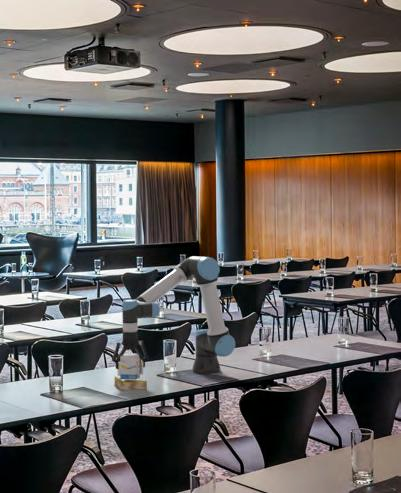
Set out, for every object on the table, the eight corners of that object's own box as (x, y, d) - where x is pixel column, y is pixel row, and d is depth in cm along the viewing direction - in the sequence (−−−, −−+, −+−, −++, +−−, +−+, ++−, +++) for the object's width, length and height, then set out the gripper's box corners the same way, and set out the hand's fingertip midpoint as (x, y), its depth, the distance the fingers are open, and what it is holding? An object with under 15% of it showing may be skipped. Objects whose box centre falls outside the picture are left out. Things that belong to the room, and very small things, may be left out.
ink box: (136, 379, 444) (136, 356, 443) (119, 379, 445) (119, 355, 445) (141, 376, 452) (140, 353, 451) (124, 375, 454) (124, 352, 453)
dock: (139, 383, 458) (139, 374, 457) (146, 388, 444) (146, 379, 444) (114, 385, 453) (114, 376, 453) (121, 390, 440) (121, 381, 440)
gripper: (150, 328, 455) (151, 371, 456) (105, 331, 447) (105, 374, 448) (154, 330, 448) (155, 374, 449) (108, 333, 440) (109, 377, 441)
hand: (130, 374), depth 449 cm, fingers closed on ink box, 11 cm apart
